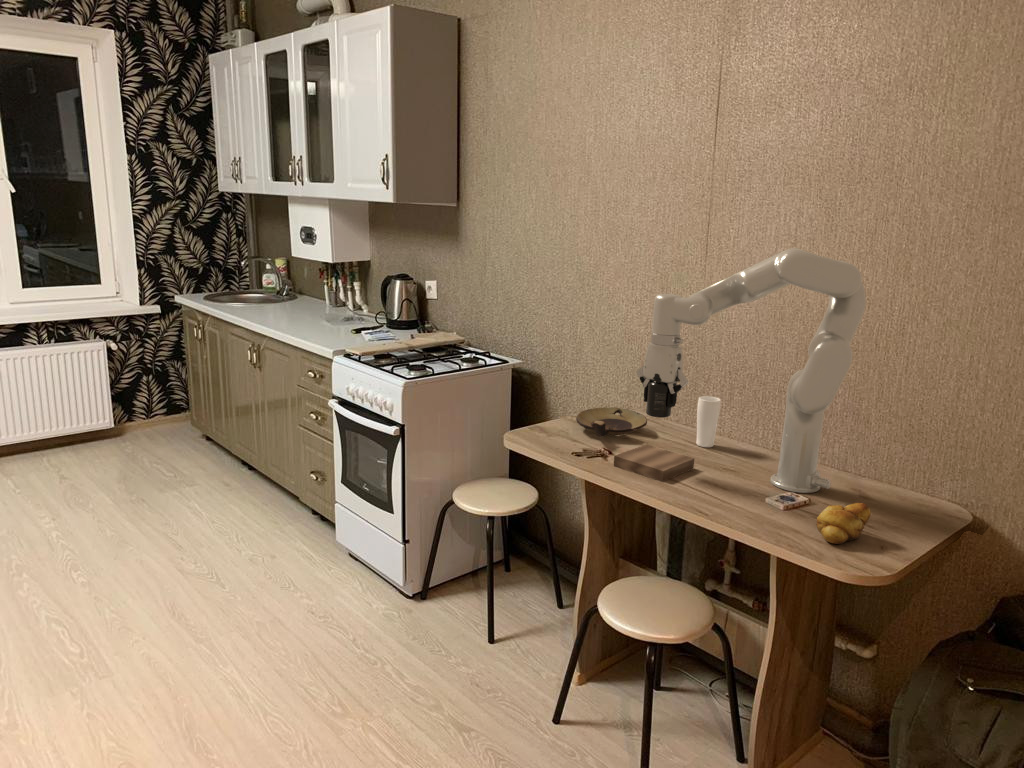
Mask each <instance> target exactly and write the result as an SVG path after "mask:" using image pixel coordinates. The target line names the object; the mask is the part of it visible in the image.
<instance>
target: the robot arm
mask: <svg viewBox="0 0 1024 768" xmlns="http://www.w3.org/2000/svg"><path fill="white" fill-rule="evenodd" d="M790 285H793V286H796V287H799V288H801V289H805V290H809V291H812V292H815V293H819V294H823V295H826V296H827V295H828V305H827V309H826V311H825V313H824V316H823V317H822V320H821V322H820V324H819V326H818V328H817V330H816V332H815V334H814V336H813V338H812V339H811V341H810V343H809V345H808V347H807V355H808V360H807V362H806V363H805V366H804V368H803V369H800V370H798V371H796V372H795V373H793V375H792V376H790V379H789V380H788V383H787V388H786V401H785V402H786V403H785V414H784V421H783V428H782V436H781V444H780V451H779V459H778V466H777V467H778V468H777V473H773V474H772V475H771V476H770V483H771V484H772V485H773V486H775V487H777V488H779V489H782V490H785V491H789V492H793V493H800V494H801V493H802V494H809V493H810V494H811V493H815V492H818V491H820V490H821V488H823V489H827V490H830V487H831V481H830V479H828V478H825V477H821V476H820V471H819V470H817V468H818V461H819V460H818V459H819V454H820V447H821V446H820V445H821V439H822V432H823V426H824V420H825V419H824V418H825V410H827V409H828V408H829V407H830V406H831V404H832V402H833V401H834V399H835V397H836V395H837V394H838V391H839V390H840V389H841V385H842V383H843V382H844V380H845V378H846V376H847V374H848V373H849V370H850V367H851V365H852V362H853V349H852V347H851V343H852V341H853V339H854V338H855V334H856V333H857V330H858V329H859V326H860V324H861V322H862V319H863V317H864V314H865V309H866V305H867V304H866V302H867V299H866V290H865V285H864V284H863V275H862V274H861V271H860V269H859V268H858V267H857V266H856V265H855V264H852V263H850V262H848V261H845V260H842V259H841V260H837V259H834V258H830V257H825V256H823V255H818V254H814V253H812V252H808V251H806V250H803V249H800V248H797V247H793V248H792V247H791V248H787V249H785V250H783V251H781V252H778V253H776V254H774V255H772V256H770V257H768V258H766V259H764V260H761V261H759V262H757V263H756V264H753V265H751V266H750V267H747V268H745V269H743V270H741V271H738V272H736V273H734V274H732V275H731V276H729V277H727V278H724V279H722V280H720V281H717V282H716V283H714V284H711V285H709V286H707V287H705V288H703V289H701V290H698V291H696V292H694V293H692V294H690V295H689V296H687V297H682V296H681V295H679V294H673V293H659V294H656V296H654V302H653V311H652V325H651V334H650V342H649V343H648V345H647V349H646V352H645V357H644V363H643V365H642V366H641V367H639V368H638V369H637V370H636V371H635V373H636V375H637V376H638V378H639V381H640V382H641V383H642V387H643V388H644V389H643V402H645V403H647V393H648V384H649V383H650V382H651V381H652V380H654V379H653V378H654V376H655V374H656V373H657V374H658V375H660V378H661V379H662V381H661V382H664V383H668V387H669V390H670V393H668V400H667V407H668V408H670V407H672V408H673V407H676V405H677V404H676V403H677V397H678V393H679V392H680V391H681V390H682V389H684V387H685V386H687V384H689V379H687V377H686V376H685V374H684V356H683V348H682V347H683V346H681V345H680V344H683V343H684V339H683V338H682V337H681V335H680V334H681V325H682V324H687V325H690V326H691V325H692V326H701V325H704V324H706V323H707V322H708V321H709V320H710V318H711V316H713V315H715V314H717V313H720V312H722V311H724V310H726V309H728V308H731V307H733V306H737V305H740V304H749V303H752V302H755V301H758V300H760V299H762V298H764V297H766V296H768V295H770V294H772V293H775V292H777V291H779V290H781V289H783V288H786V287H787V286H790Z"/></svg>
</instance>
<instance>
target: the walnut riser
mask: <svg viewBox="0 0 1024 768" xmlns="http://www.w3.org/2000/svg"><path fill="white" fill-rule="evenodd" d="M613 466H614V467H616V468H619V469H622V470H625V471H627V472H630V473H634V474H637V475H640V476H644V477H646V478H650V479H654V480H656V481H659V482H665V481H667V480H670V479H673V478H674V477H676V476H679V475H681V474H684V473H686V472H689V471H691V470H693V469H694V467H695V457H691V456H688V455H684V454H681V453H677V452H674V451H670V450H667V449H663V448H660V447H656V446H652V445H649V444H644V445H642V446H641V445H640V446H639V447H635V448H632V449H630V450H627V451H624V452H621V453H618V454H616V455H614V457H613Z"/></svg>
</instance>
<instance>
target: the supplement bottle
mask: <svg viewBox="0 0 1024 768" xmlns="http://www.w3.org/2000/svg"><path fill="white" fill-rule="evenodd" d="M653 379H654V380H652V381H651V382H650V383H649V384H648V393H647V402H646V409H645V412H646V415H647V416H649V417H653V418H661V419H662V418H668V417H670V416H671V415H672V408H673V407H670V408H668V407H667V400H668V393H670V390H669V387H668V383H664V382H661V381H662V379H661V378H660V375H658V374H657V373H656V374H655V376H654V378H653Z"/></svg>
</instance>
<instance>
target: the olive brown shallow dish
mask: <svg viewBox="0 0 1024 768" xmlns="http://www.w3.org/2000/svg"><path fill="white" fill-rule="evenodd" d="M575 420H576V423H577V424H578V425H579V426H581V427H583V428H584V429H586V430H588V431H590V432H592V433H594V434H595V433H596V436H597V437H599V438H603V437H605V436H611V437H612V436H613V437H614V436H623V435H627V434H631V433H633V432H636V431H637V430H639V429H641V428H643V427H645V426H647V424H648V419H647V416H645V415H644V414H642V413H639V412H638V411H635V410H633V409H631V410H630V409H629V408H621V407H615V406H614V407H595V408H589V409H586V410H582V411H580V413H578V414H577V415H576V418H575Z"/></svg>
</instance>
